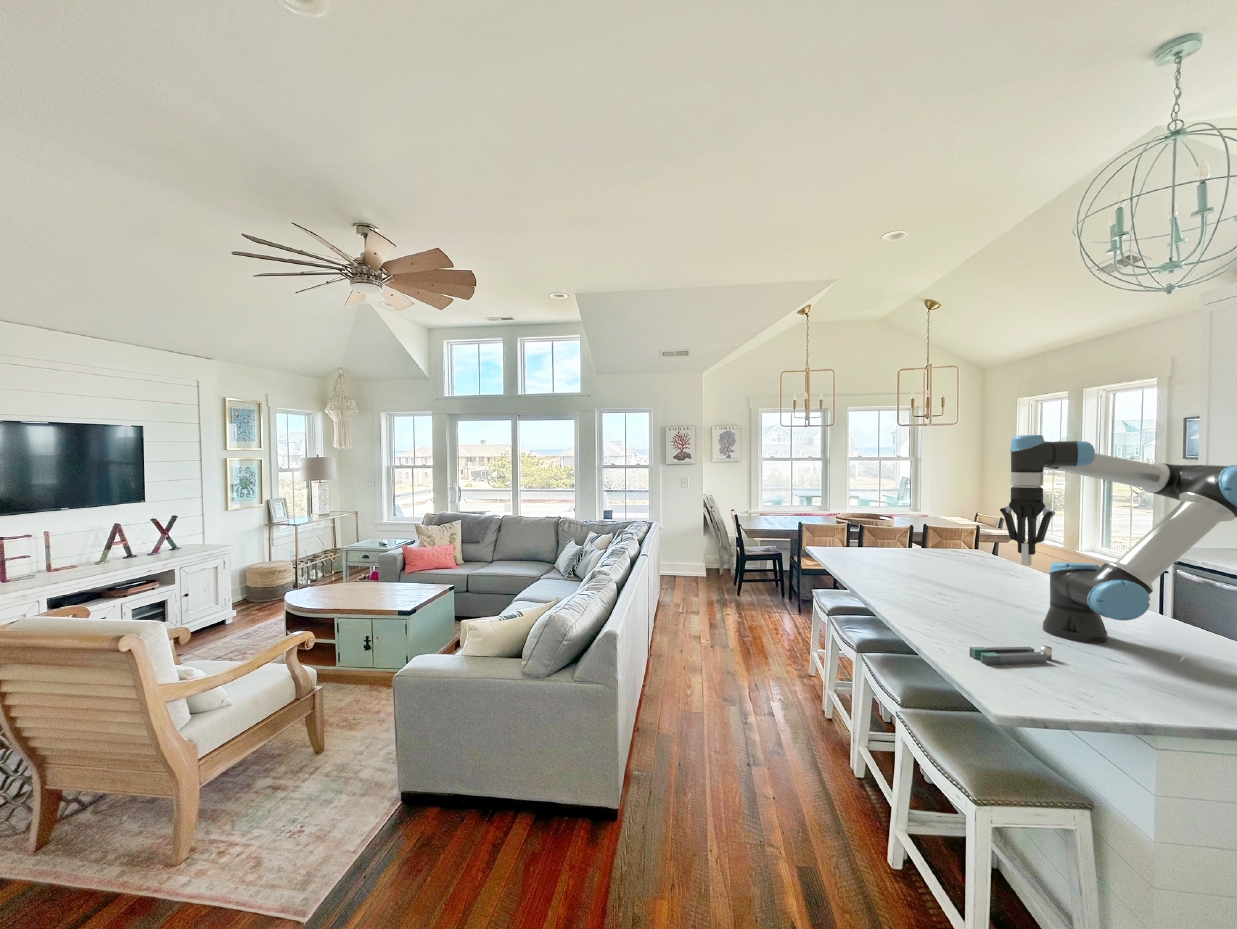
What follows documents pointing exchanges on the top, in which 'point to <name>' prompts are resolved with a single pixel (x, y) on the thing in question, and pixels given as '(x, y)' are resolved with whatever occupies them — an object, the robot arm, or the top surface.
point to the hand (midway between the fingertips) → (1026, 564)
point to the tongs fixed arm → (1007, 651)
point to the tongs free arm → (1013, 658)
